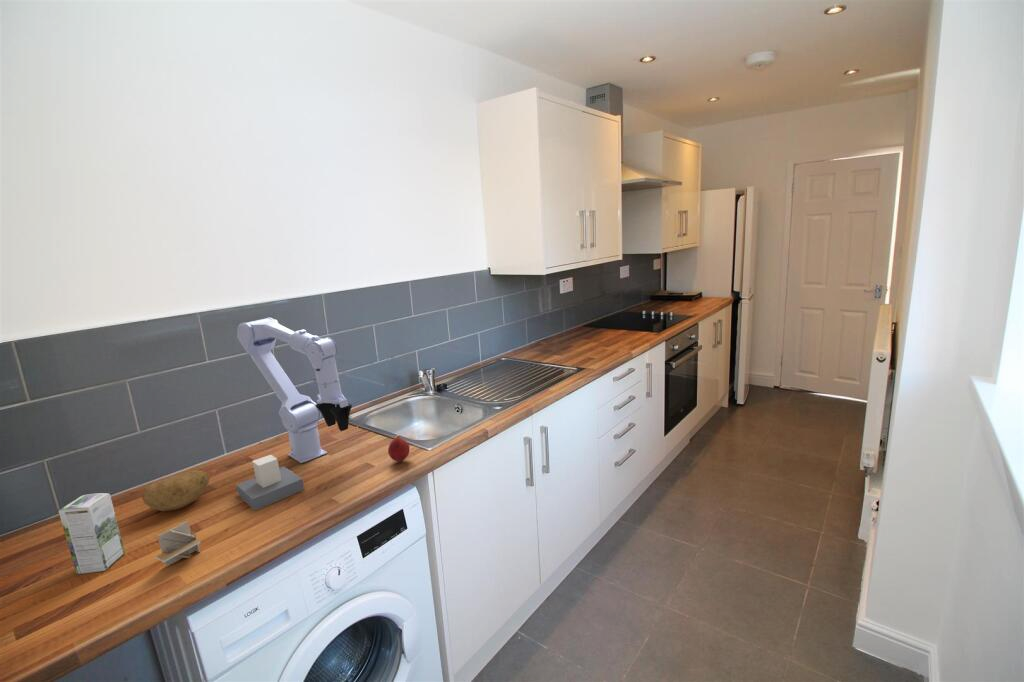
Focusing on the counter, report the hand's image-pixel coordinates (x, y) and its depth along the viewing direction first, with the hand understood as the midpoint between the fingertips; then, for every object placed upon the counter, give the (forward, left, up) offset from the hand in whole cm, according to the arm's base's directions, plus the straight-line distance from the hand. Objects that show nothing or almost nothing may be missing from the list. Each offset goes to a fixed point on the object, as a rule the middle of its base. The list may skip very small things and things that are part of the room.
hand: (337, 427), depth 135 cm
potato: (-12, -37, -11) cm, 41 cm away
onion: (+15, +10, -11) cm, 21 cm away
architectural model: (+15, -43, -11) cm, 47 cm away
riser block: (+1, -20, -10) cm, 23 cm away
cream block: (+1, -20, -7) cm, 22 cm away
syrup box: (+2, -54, -11) cm, 55 cm away
